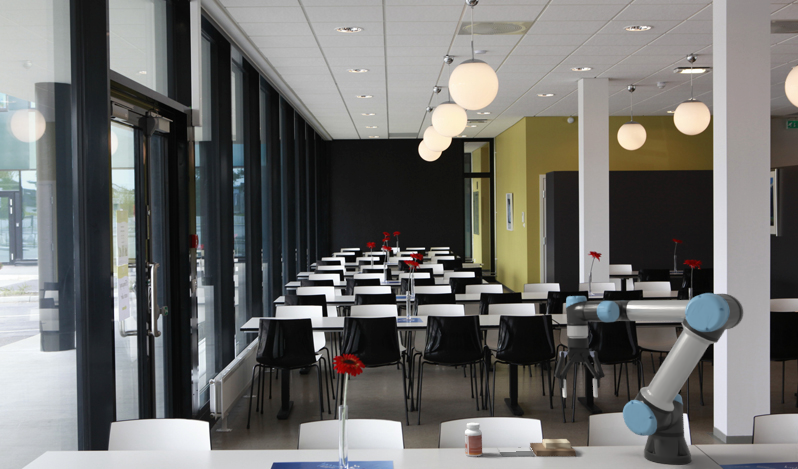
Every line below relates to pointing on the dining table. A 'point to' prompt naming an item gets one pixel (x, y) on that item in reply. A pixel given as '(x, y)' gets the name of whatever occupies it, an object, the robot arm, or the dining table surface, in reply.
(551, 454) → the board
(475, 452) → the pill bottle
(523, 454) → the grey square plate
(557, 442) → the birch tile
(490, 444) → the dining table surface
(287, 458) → the dining table surface
